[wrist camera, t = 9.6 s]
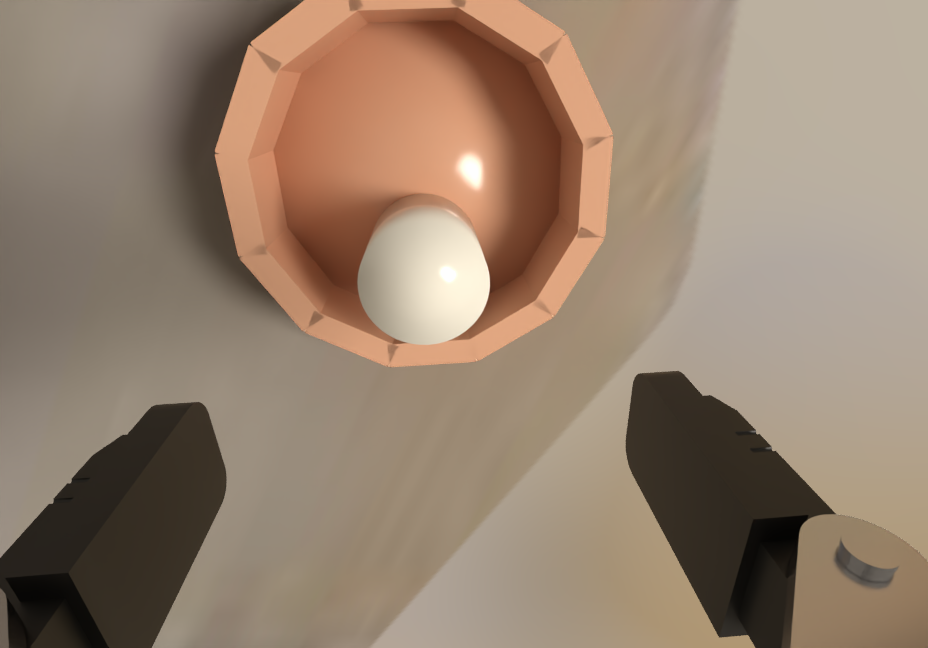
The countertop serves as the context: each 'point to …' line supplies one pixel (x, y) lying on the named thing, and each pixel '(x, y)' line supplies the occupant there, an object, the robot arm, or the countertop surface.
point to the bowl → (414, 159)
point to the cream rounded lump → (423, 271)
